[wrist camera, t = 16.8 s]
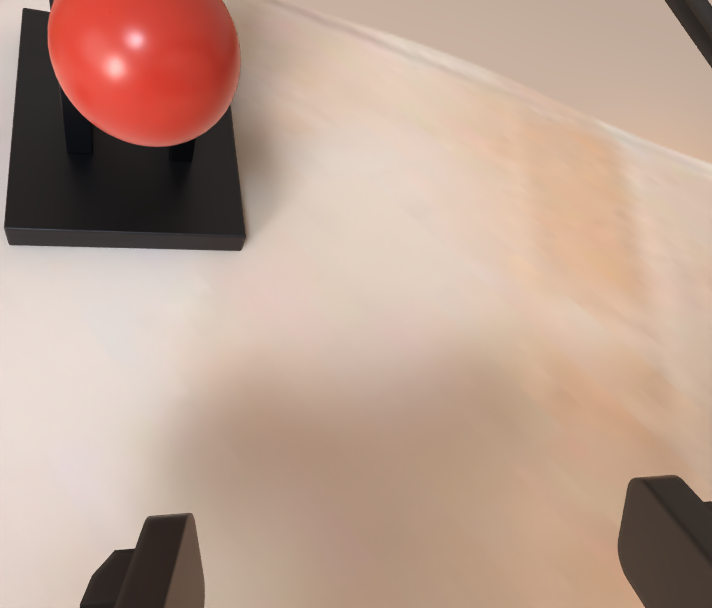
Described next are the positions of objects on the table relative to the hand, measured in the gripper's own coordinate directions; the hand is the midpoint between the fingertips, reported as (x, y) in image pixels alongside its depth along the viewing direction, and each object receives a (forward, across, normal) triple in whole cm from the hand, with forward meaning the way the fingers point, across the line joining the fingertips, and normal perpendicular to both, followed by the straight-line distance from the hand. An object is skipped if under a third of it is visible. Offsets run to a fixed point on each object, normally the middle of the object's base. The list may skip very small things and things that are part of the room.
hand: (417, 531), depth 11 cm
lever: (+10, -6, +9) cm, 15 cm away
